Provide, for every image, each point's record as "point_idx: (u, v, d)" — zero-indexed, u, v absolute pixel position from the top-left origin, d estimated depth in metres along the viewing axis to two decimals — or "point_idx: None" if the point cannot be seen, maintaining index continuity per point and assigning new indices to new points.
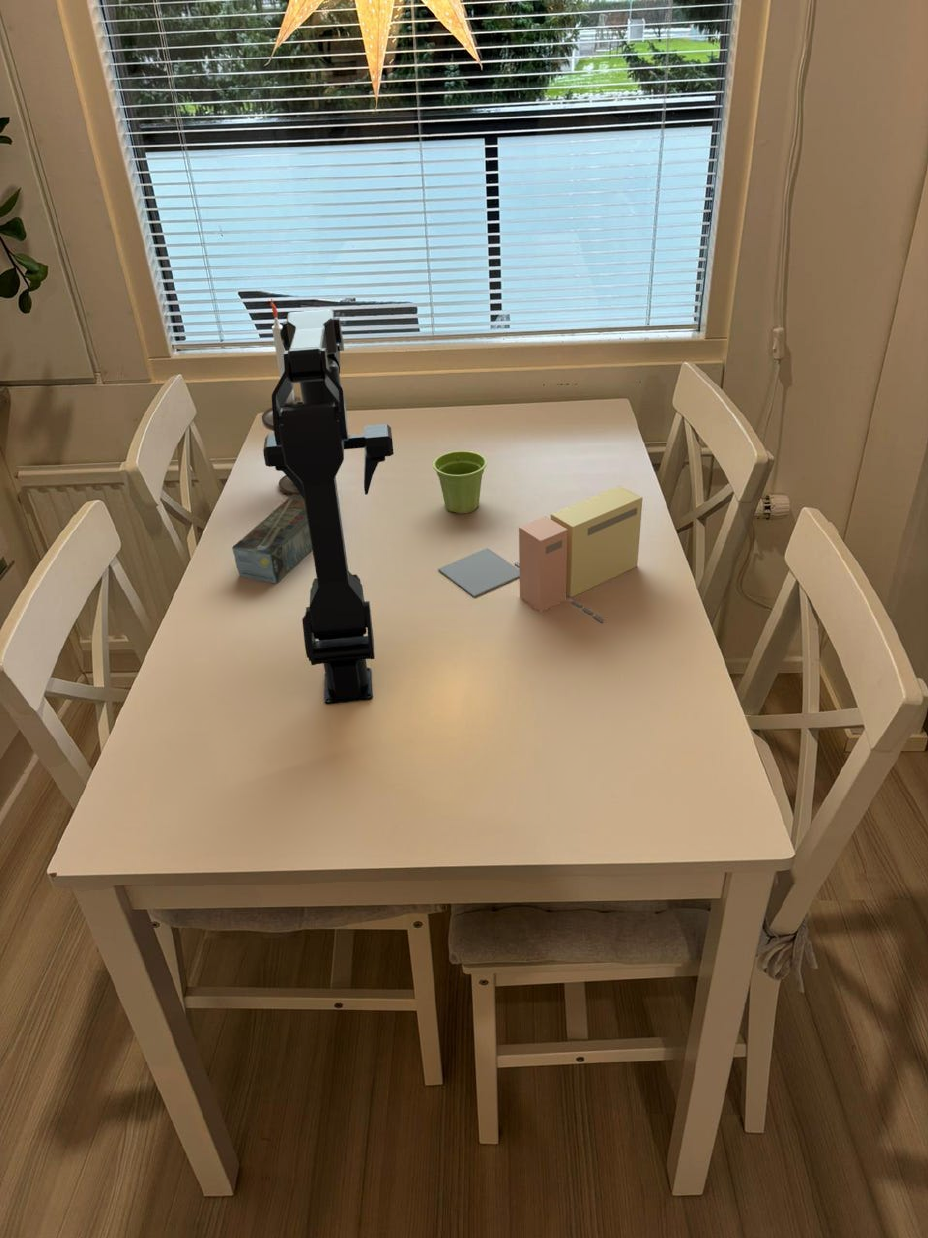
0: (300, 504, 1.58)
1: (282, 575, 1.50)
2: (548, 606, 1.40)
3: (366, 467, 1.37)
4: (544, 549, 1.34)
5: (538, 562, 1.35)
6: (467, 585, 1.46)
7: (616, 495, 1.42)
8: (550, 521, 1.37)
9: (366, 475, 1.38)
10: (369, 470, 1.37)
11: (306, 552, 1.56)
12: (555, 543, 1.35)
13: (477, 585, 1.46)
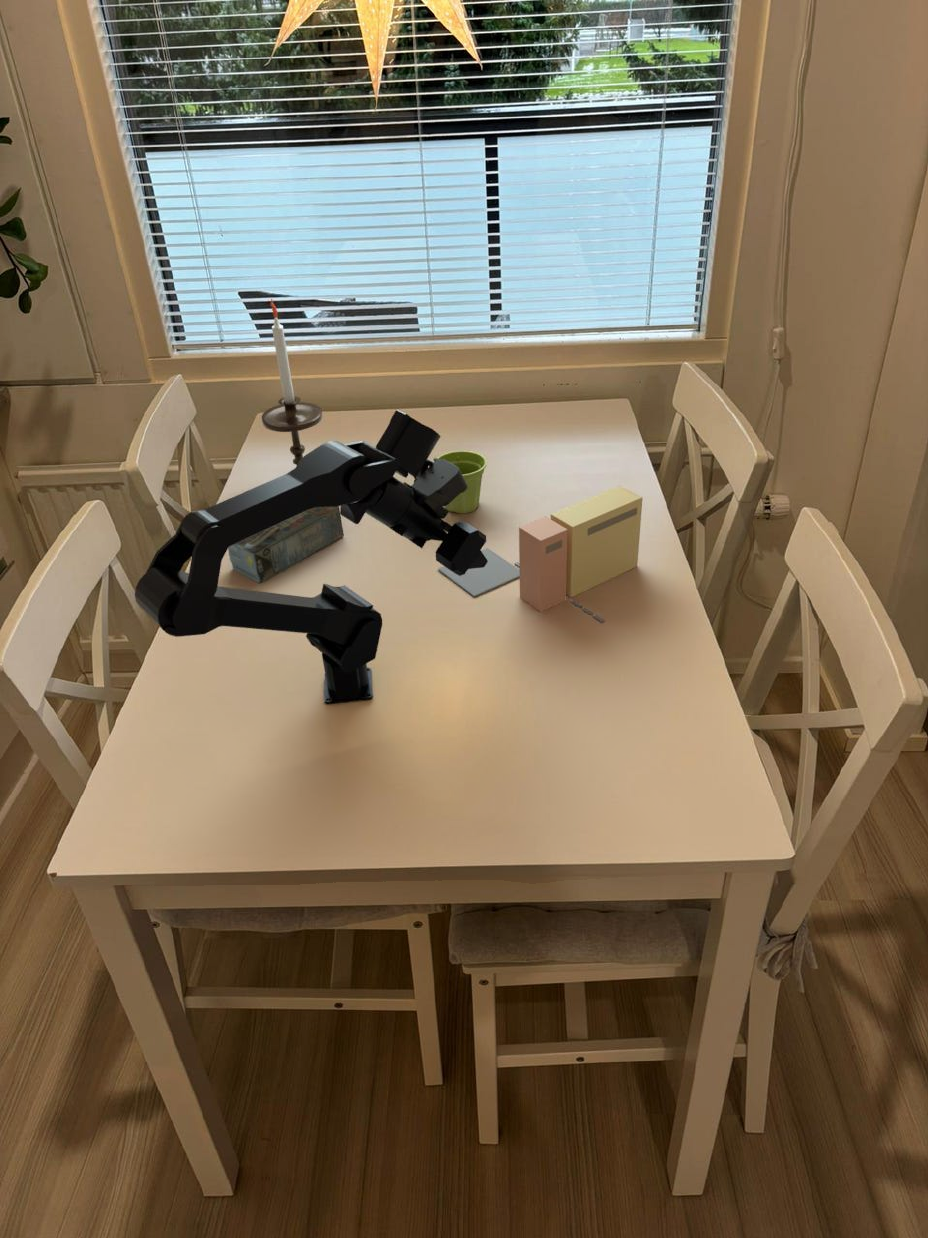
0: None
1: (268, 576, 1.50)
2: (548, 606, 1.40)
3: None
4: (544, 549, 1.34)
5: (538, 562, 1.35)
6: (467, 585, 1.46)
7: (616, 495, 1.42)
8: (550, 521, 1.37)
9: None
10: None
11: (303, 556, 1.55)
12: (555, 543, 1.35)
13: (477, 585, 1.46)
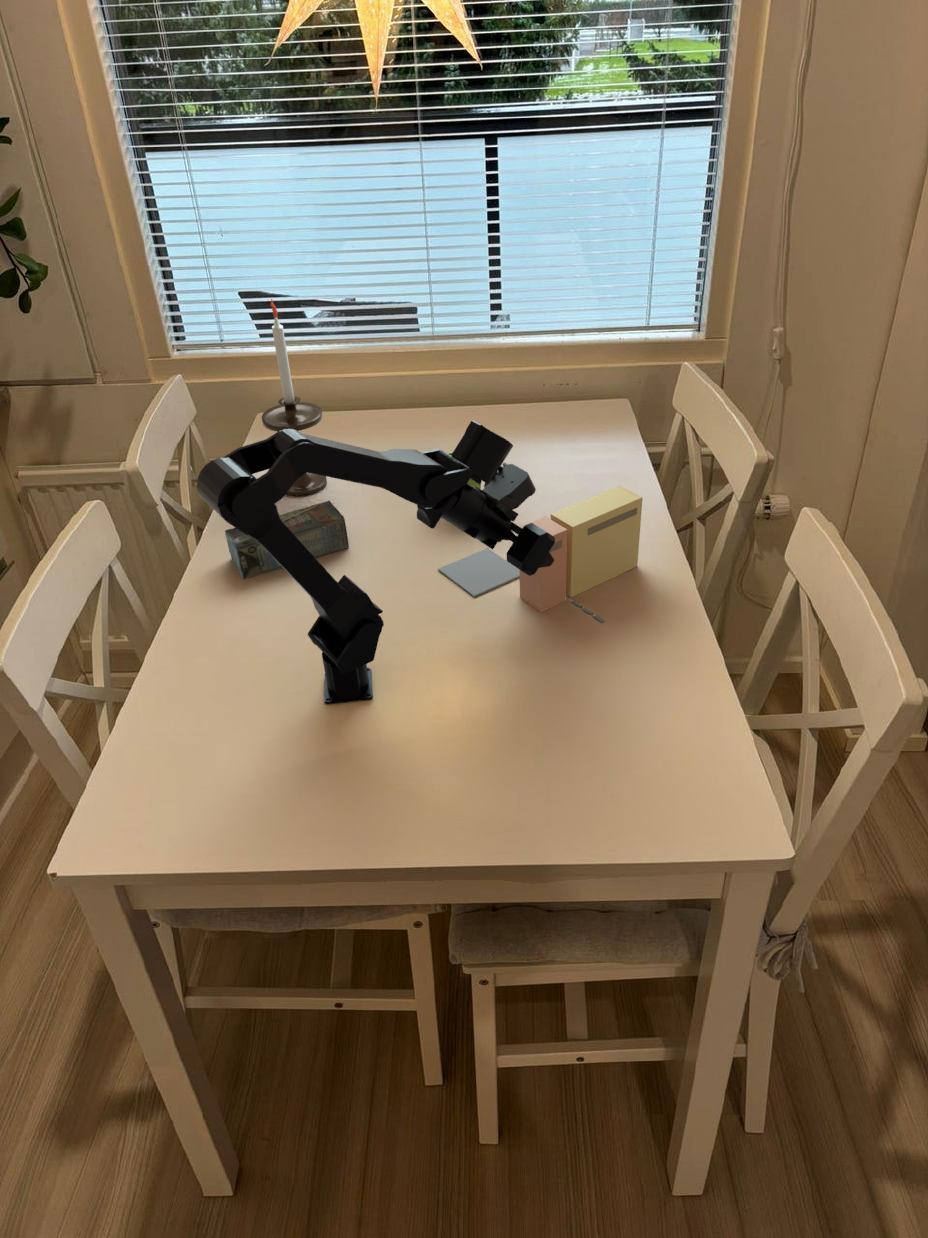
0: (316, 513, 1.55)
1: (254, 573, 1.51)
2: (548, 606, 1.40)
3: None
4: None
5: None
6: (467, 585, 1.46)
7: (616, 495, 1.42)
8: (550, 521, 1.37)
9: None
10: None
11: None
12: (555, 543, 1.35)
13: (477, 585, 1.46)
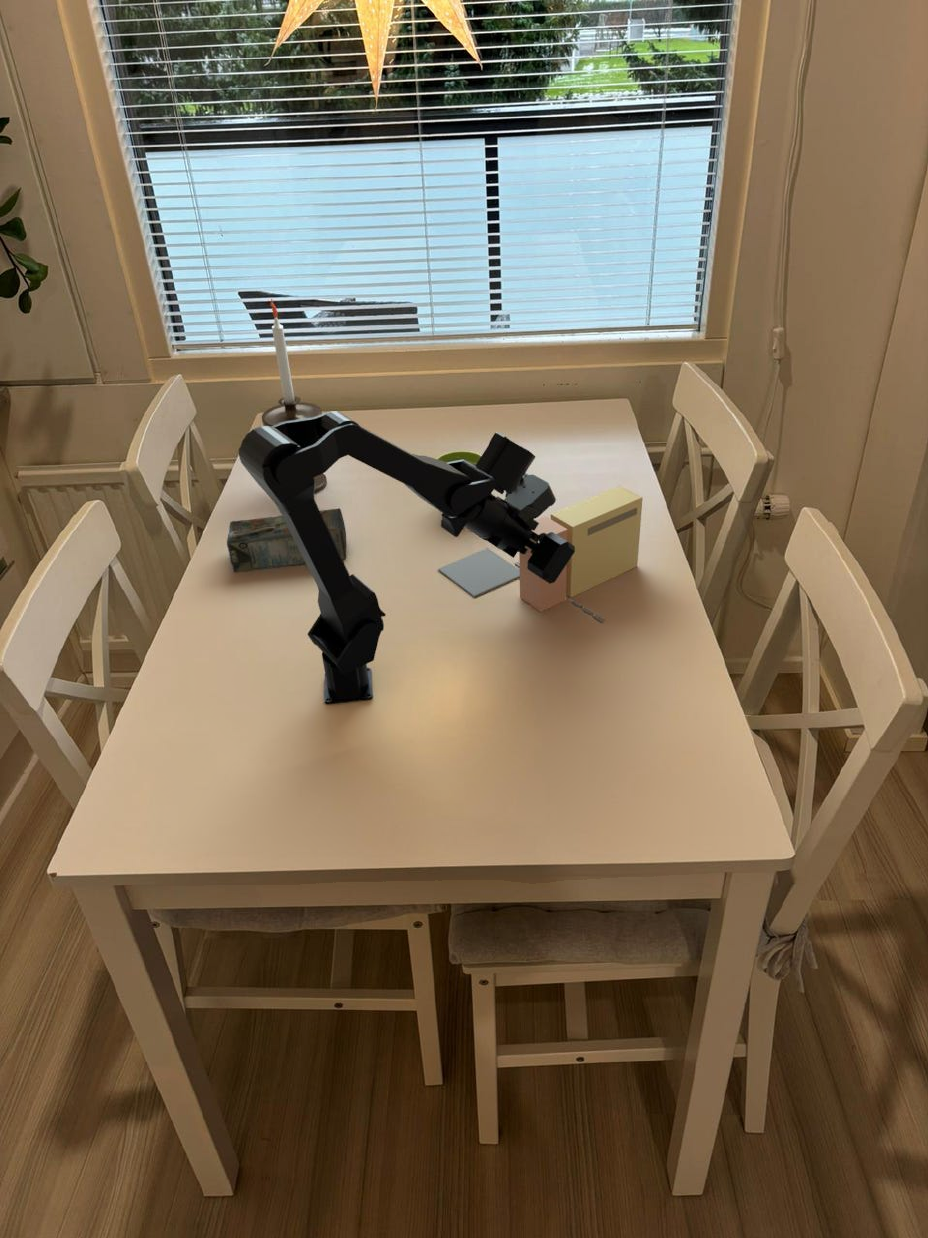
0: None
1: (244, 568, 1.53)
2: (548, 606, 1.40)
3: None
4: None
5: None
6: (467, 585, 1.46)
7: (616, 495, 1.42)
8: (550, 521, 1.37)
9: None
10: None
11: (289, 563, 1.53)
12: None
13: (477, 585, 1.46)
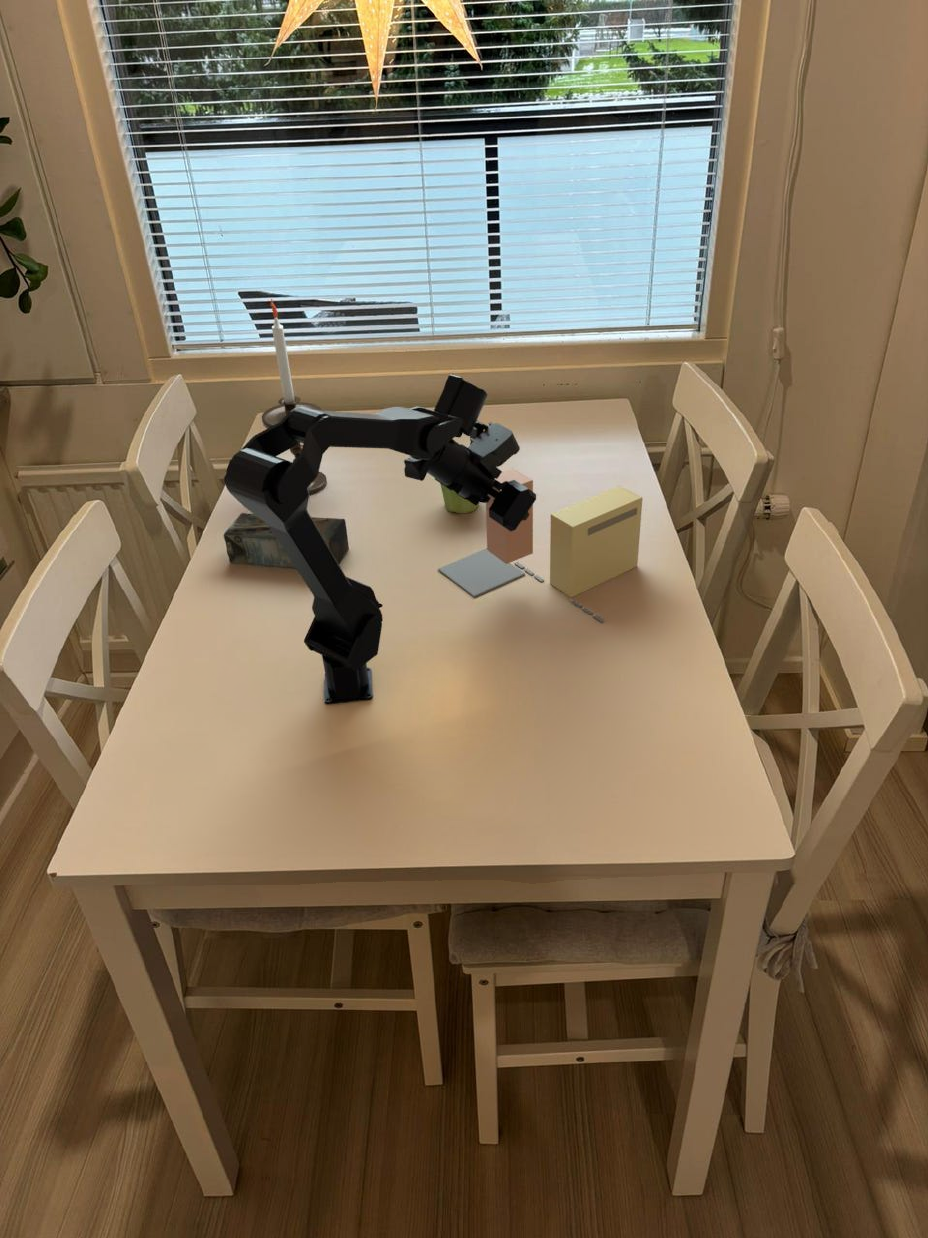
0: None
1: (239, 561, 1.54)
2: (514, 558, 1.40)
3: None
4: None
5: None
6: (467, 585, 1.46)
7: (616, 495, 1.42)
8: (517, 472, 1.37)
9: None
10: None
11: (280, 564, 1.53)
12: None
13: (477, 585, 1.46)
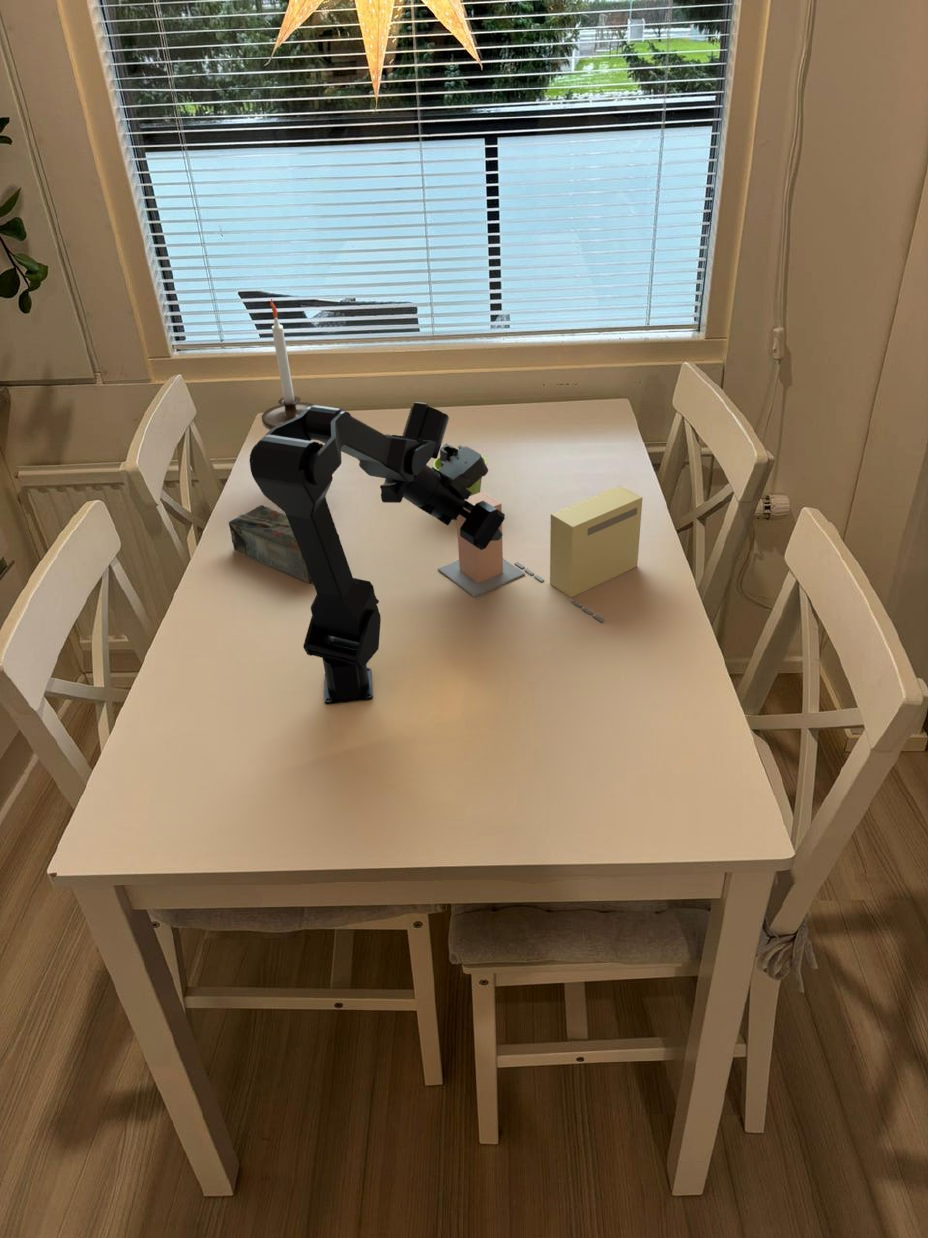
0: None
1: (241, 551, 1.57)
2: (485, 578, 1.47)
3: None
4: None
5: None
6: (467, 585, 1.46)
7: (616, 495, 1.42)
8: (486, 496, 1.43)
9: None
10: None
11: (269, 564, 1.53)
12: None
13: (477, 585, 1.46)
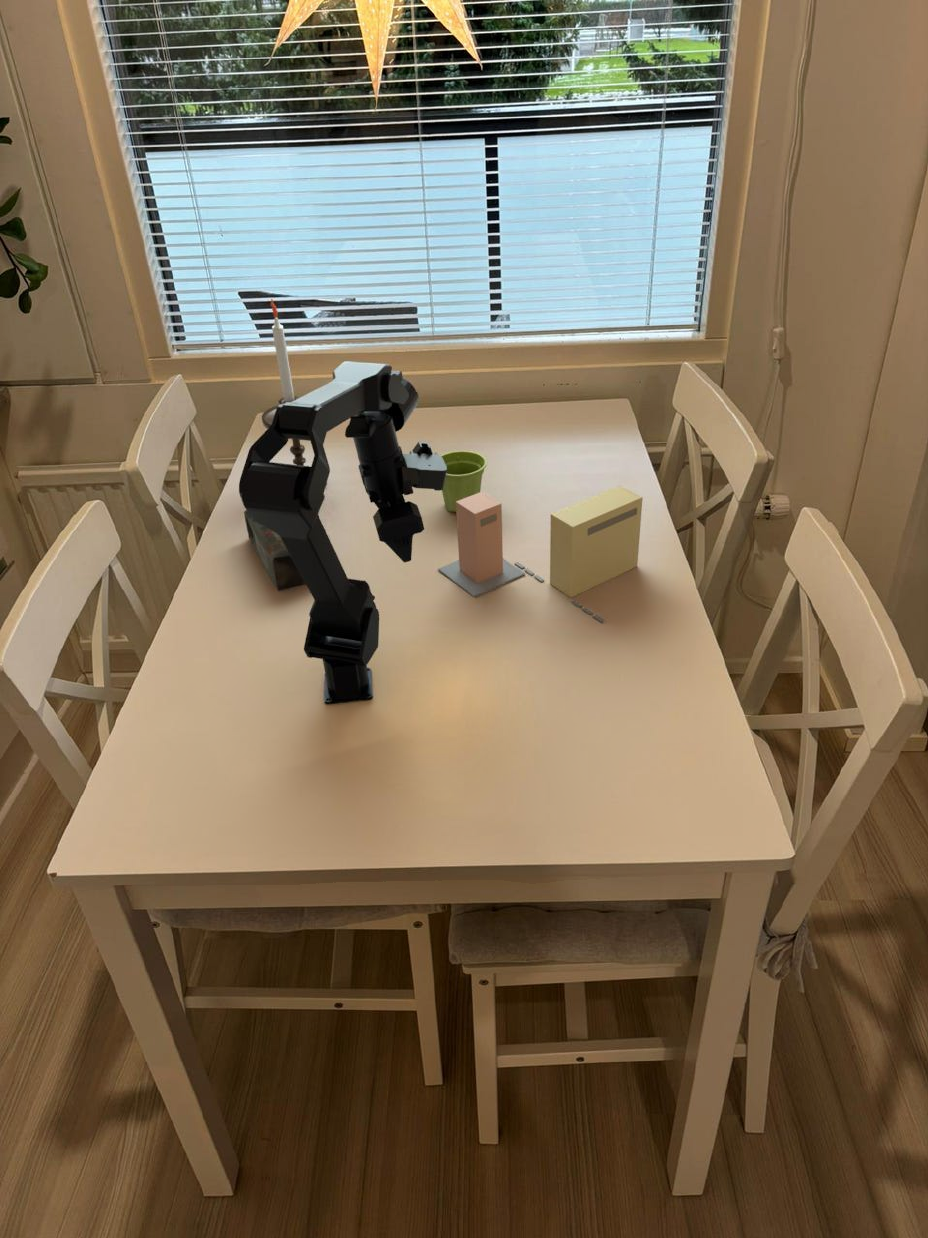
0: None
1: (251, 541, 1.60)
2: (485, 578, 1.47)
3: None
4: (479, 522, 1.40)
5: (473, 535, 1.42)
6: (467, 585, 1.46)
7: (616, 495, 1.42)
8: (486, 496, 1.43)
9: None
10: None
11: (261, 560, 1.54)
12: (489, 516, 1.41)
13: (477, 585, 1.46)
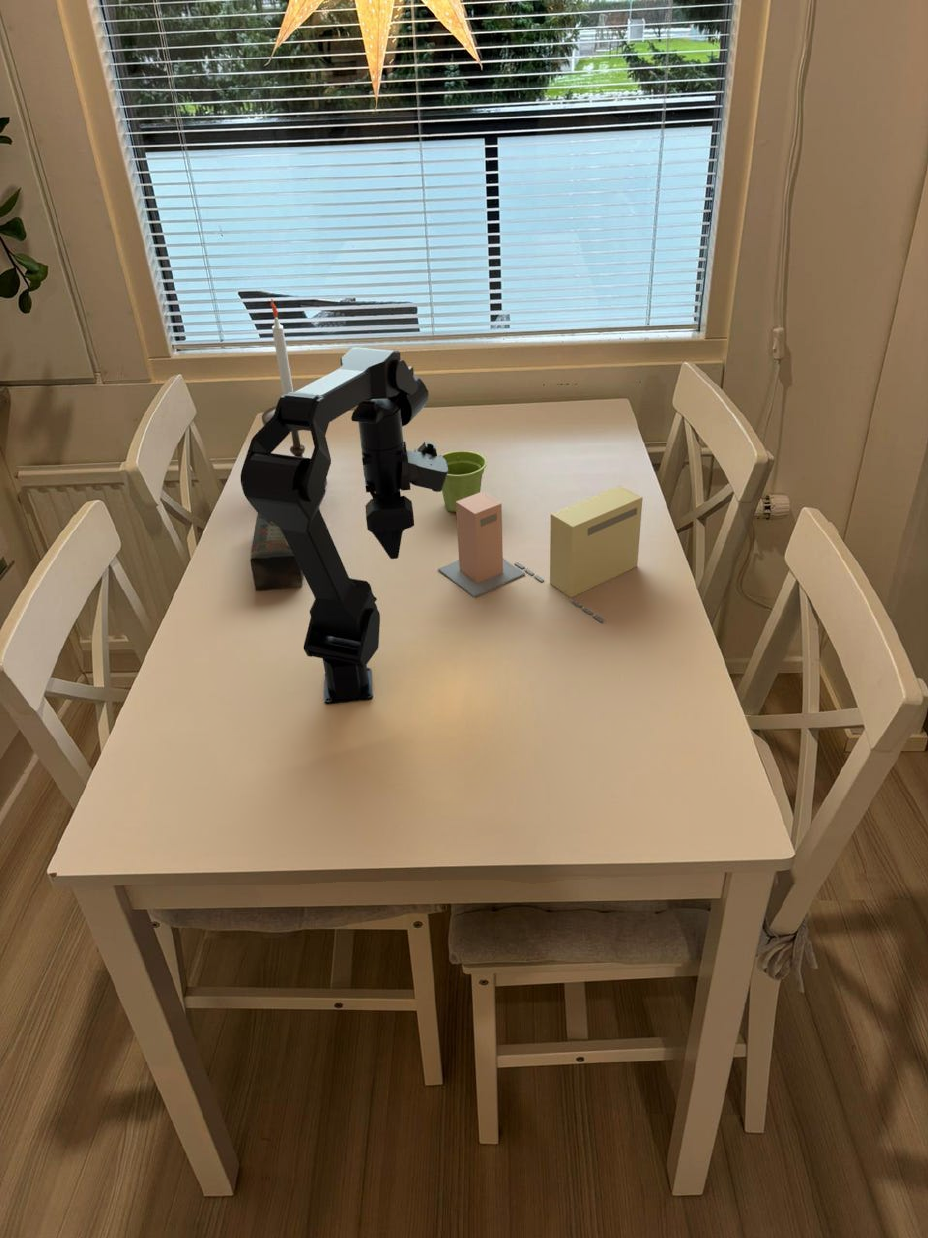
0: (272, 543, 1.48)
1: None
2: (485, 578, 1.47)
3: None
4: (479, 522, 1.40)
5: (473, 535, 1.42)
6: (467, 585, 1.46)
7: (616, 495, 1.42)
8: (486, 496, 1.43)
9: None
10: None
11: None
12: (489, 516, 1.41)
13: (477, 585, 1.46)
